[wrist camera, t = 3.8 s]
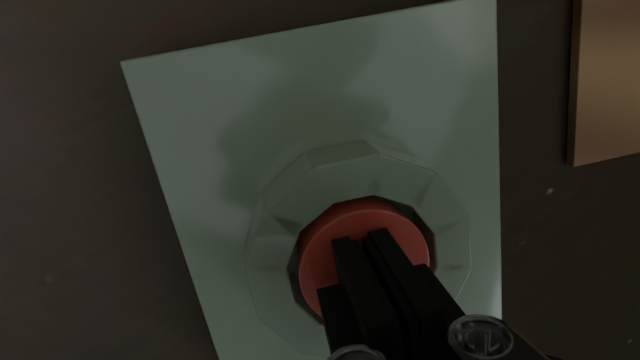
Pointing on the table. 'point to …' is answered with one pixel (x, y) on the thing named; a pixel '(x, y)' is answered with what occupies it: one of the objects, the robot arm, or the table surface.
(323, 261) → the red push button
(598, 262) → the table surface
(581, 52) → the coaster
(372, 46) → the button block
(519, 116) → the table surface
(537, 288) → the table surface
